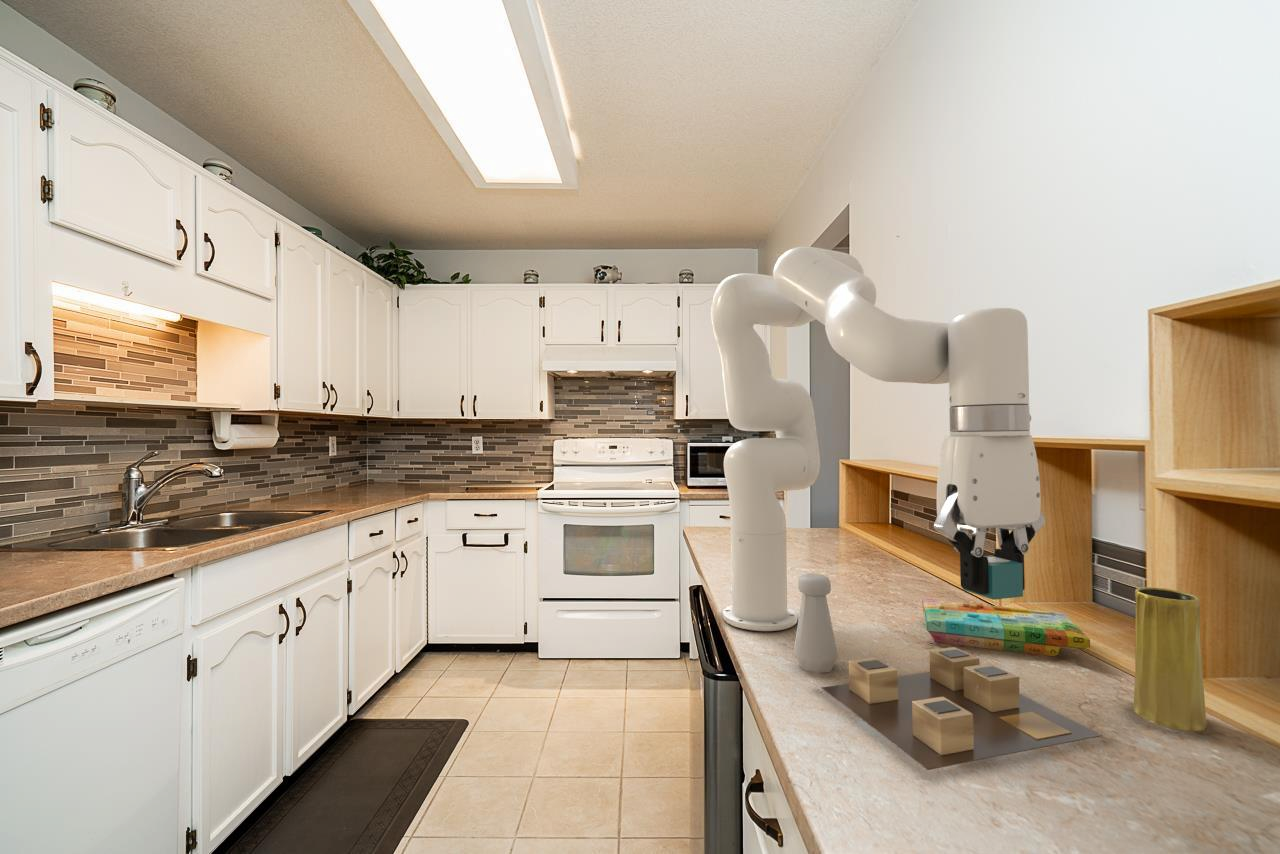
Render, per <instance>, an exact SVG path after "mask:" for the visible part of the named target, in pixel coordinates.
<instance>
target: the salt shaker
mask: <svg viewBox="0 0 1280 854" xmlns="http://www.w3.org/2000/svg"><path fill="white" fill-rule="evenodd" d="M797 586H798V591H799V592H800V593H802V596H801V602H800V607H799V613H798V619H797V626H796V627H797V628H796V634H795V640H794V645H793V646H794V647H793V652H794V657H795V659H796V661H797V663H798V665H799V667H800V668H801V669H802V670H804V671H807V672H811V673H815V674H821V673H828V672H829V673H830V672H831V671H832V670H833V668H834V666H835V664H836V662H837V661H838V659H839V658H838V657H839V653H838V648H837V644H836V640H835V635H834V629H833V624H832V619H831V614H830V613H831V612H830V609H829V604H828V599H827V595H829V594H830V593H831V591H832V590H831V589H832V584H831V580H830V578H829V577H828V576H826V575H824V574H820V573H810V572H809V573H803V574H801V575H800V576H799V577H798V581H797Z"/></svg>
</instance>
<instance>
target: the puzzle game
mask: <svg viewBox="0 0 1280 854" xmlns="http://www.w3.org/2000/svg"><path fill="white" fill-rule="evenodd" d="M921 609H922V614H923V619H924V622H925V627H926V631H927V632H928V634H929V635H930V636H931V639H933V642H934V643H942V644H950V645H958V646H967V647H974V648H984V649H990V650H998V651H1008V652H1015V653H1016V652H1017V653H1024V654H1034V655H1041V656H1047V657H1048V656H1049V657H1050V656H1051V657H1056V656H1057V655H1059V654H1060V649H1061V648H1063V649H1074V650H1075V649H1076V650H1087V649H1089V648H1091V640H1090V638H1089V637H1088V636H1087V635H1086V634H1085V633H1084V632H1083V631H1082V630H1081V629H1080V628H1079V627H1078V625H1076V624H1075V623H1074V622H1073V621H1072V620H1071V619H1070V618H1069V616H1067V615H1066V614H1065V613H1064V612H1054V611H1047V610H1045V611H1044V610H1036V609H1027V608H1017V607H1010V606H1009V607H1007V606H997V605H989V604H983V603H979V602H976V601H972V600H967V602H966V601H962V602H959V601H950V600H941V599H931V598H925V599H922V600H921Z"/></svg>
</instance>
